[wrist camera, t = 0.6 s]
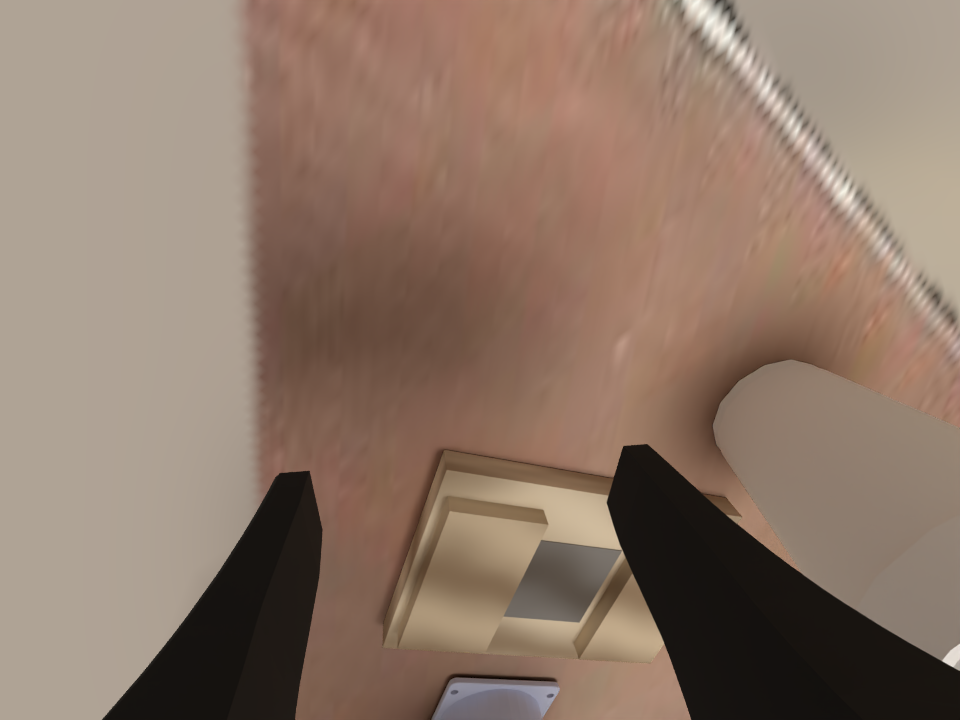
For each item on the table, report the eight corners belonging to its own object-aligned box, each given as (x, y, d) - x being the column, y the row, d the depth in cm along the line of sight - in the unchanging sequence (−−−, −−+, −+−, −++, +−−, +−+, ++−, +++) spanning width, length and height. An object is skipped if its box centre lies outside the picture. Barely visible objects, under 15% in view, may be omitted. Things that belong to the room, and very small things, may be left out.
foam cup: (766, 501, 29) (1005, 759, 17) (650, 452, 26) (848, 726, 14) (890, 373, 26) (1282, 587, 14) (774, 299, 23) (1156, 497, 11)
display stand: (629, 640, 33) (646, 678, 31) (383, 623, 29) (381, 665, 27) (726, 497, 28) (753, 530, 26) (444, 449, 24) (448, 484, 22)
